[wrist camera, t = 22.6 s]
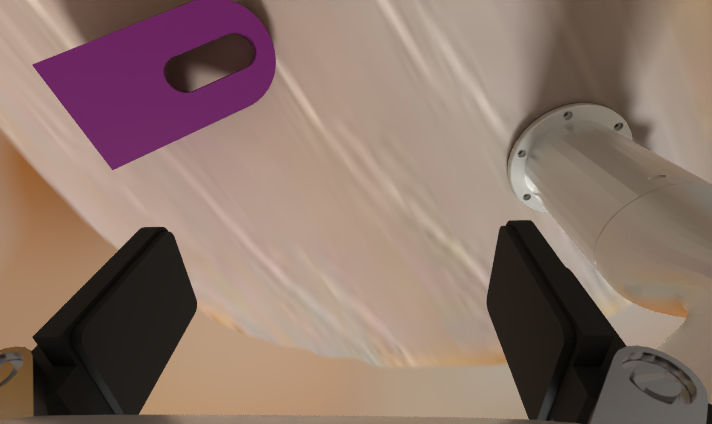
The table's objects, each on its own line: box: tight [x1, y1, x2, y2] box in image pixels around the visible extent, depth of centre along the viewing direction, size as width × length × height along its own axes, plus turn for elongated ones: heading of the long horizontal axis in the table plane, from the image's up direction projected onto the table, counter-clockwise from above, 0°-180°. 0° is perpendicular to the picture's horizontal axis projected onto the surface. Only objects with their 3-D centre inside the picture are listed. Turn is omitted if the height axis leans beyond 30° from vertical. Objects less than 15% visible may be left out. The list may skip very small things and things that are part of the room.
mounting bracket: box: [33, 0, 276, 170], centre depth 36 cm, size 9×8×18 cm
